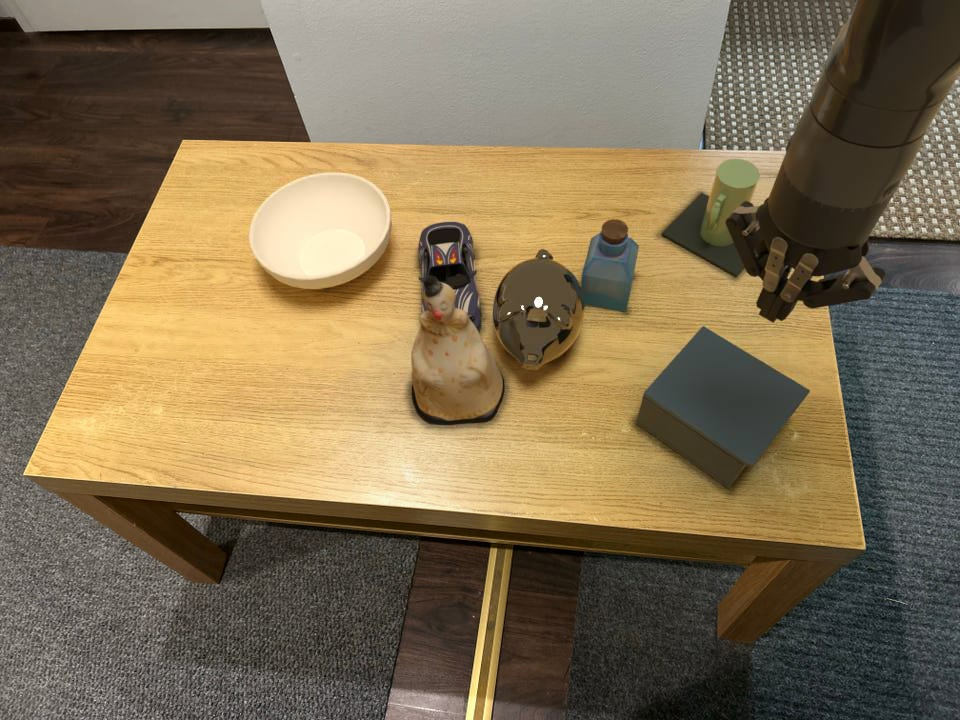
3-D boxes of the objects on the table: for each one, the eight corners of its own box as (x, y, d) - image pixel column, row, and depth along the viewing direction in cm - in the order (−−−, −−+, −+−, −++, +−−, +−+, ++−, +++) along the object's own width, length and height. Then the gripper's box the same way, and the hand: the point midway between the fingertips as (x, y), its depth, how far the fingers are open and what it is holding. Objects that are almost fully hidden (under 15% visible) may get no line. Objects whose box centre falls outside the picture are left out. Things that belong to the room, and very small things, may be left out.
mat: (775, 233, 96) (776, 231, 95) (736, 277, 92) (736, 275, 92) (700, 194, 100) (701, 192, 100) (661, 235, 97) (661, 232, 97)
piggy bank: (486, 384, 86) (479, 333, 77) (504, 289, 94) (499, 232, 84) (575, 393, 85) (580, 343, 75) (586, 296, 92) (591, 239, 83)
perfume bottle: (633, 275, 94) (644, 214, 83) (626, 312, 91) (636, 252, 80) (588, 268, 95) (594, 206, 85) (579, 304, 92) (584, 244, 82)
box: (782, 418, 81) (801, 390, 75) (728, 489, 77) (743, 465, 71) (690, 360, 86) (701, 329, 80) (635, 423, 82) (642, 396, 76)
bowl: (256, 315, 95) (237, 283, 89) (276, 211, 105) (260, 176, 99) (396, 307, 94) (386, 274, 88) (402, 202, 104) (394, 167, 98)
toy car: (425, 344, 90) (419, 322, 86) (419, 239, 100) (413, 215, 96) (484, 337, 90) (481, 315, 86) (472, 232, 100) (469, 208, 96)
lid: (808, 393, 75) (810, 390, 74) (750, 469, 71) (752, 466, 70) (701, 329, 80) (703, 325, 80) (642, 396, 76) (643, 392, 76)
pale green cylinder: (745, 230, 96) (767, 170, 86) (718, 259, 93) (738, 201, 84) (713, 213, 98) (731, 152, 88) (686, 241, 95) (701, 182, 86)
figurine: (413, 429, 84) (380, 339, 67) (411, 357, 89) (380, 257, 72) (508, 419, 84) (500, 326, 67) (500, 347, 89) (490, 245, 72)
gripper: (965, 176, 46) (861, 325, 60) (783, 98, 51) (729, 252, 66) (913, 244, 43) (818, 381, 58) (727, 154, 48) (684, 301, 63)
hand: (771, 312), depth 62 cm, fingers closed
